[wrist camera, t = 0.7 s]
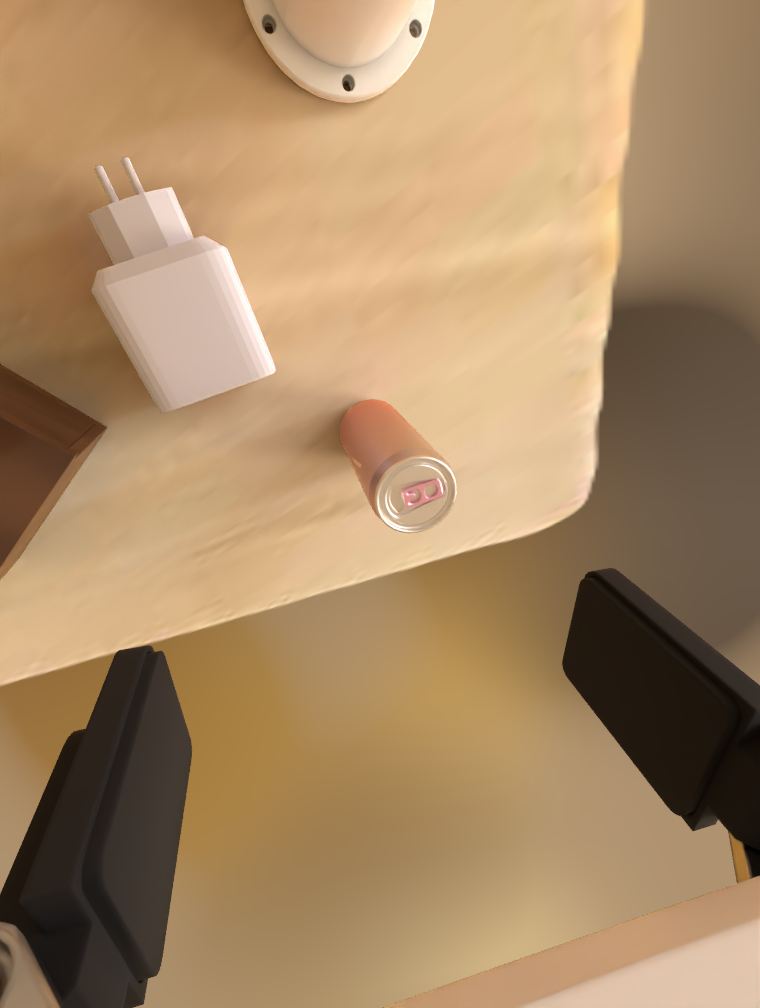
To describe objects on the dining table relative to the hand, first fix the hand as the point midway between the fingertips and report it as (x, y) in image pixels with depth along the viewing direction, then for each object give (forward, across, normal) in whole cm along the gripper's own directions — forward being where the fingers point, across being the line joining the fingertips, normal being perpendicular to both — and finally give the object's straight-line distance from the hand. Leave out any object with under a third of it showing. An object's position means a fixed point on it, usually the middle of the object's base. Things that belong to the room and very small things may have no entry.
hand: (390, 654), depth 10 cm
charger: (+33, +8, -7) cm, 35 cm away
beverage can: (+33, -6, +5) cm, 34 cm away
